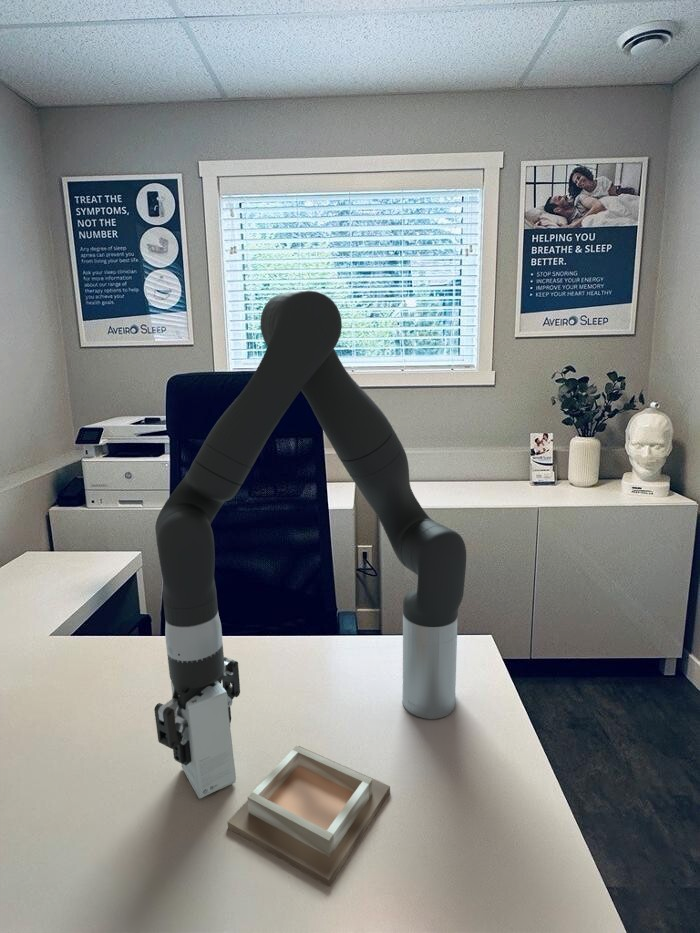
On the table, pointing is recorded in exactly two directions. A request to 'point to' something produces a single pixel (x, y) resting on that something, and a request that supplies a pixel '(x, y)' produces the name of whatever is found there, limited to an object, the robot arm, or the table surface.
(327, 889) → the table surface
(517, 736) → the table surface
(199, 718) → the skincare box
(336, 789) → the holder board
